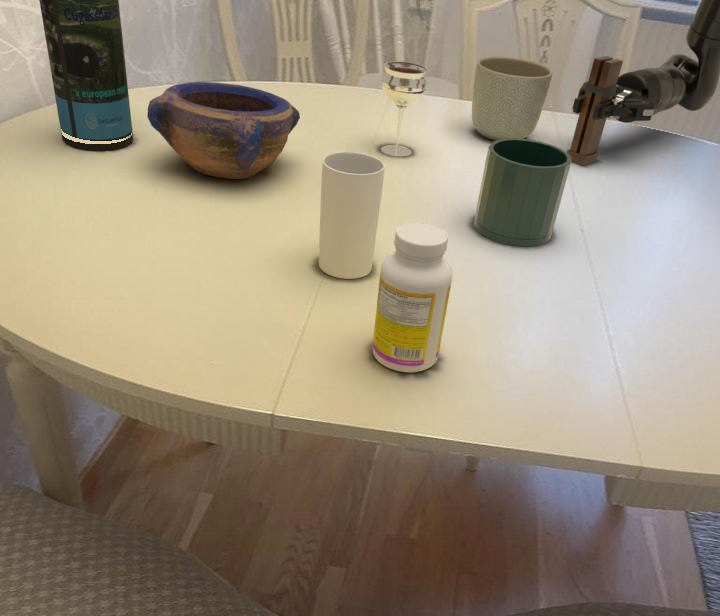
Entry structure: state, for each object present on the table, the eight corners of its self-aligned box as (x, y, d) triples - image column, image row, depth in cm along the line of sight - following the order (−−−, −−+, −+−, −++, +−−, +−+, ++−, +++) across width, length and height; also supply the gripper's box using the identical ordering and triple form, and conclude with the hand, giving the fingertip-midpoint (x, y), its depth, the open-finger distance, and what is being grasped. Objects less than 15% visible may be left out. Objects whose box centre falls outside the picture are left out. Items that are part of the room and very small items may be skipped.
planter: (520, 154, 124) (536, 82, 117) (453, 135, 128) (464, 64, 121) (546, 136, 132) (563, 68, 125) (483, 119, 137) (495, 52, 129)
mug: (360, 286, 85) (370, 179, 77) (306, 271, 87) (311, 165, 79) (392, 252, 92) (404, 152, 84) (342, 239, 94) (349, 139, 86)
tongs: (578, 154, 127) (605, 55, 117) (596, 161, 125) (625, 60, 115) (565, 159, 124) (591, 57, 114) (583, 165, 123) (612, 63, 113)
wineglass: (366, 147, 120) (373, 63, 112) (396, 140, 124) (406, 59, 116) (395, 161, 116) (405, 76, 108) (426, 154, 120) (438, 71, 112)
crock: (542, 216, 105) (561, 142, 99) (558, 249, 98) (580, 171, 91) (468, 210, 105) (483, 135, 98) (479, 243, 97) (496, 164, 90)
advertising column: (93, 121, 117) (60, -124, 97) (153, 138, 114) (131, -112, 94) (41, 140, 110) (-8, -123, 90) (103, 158, 106) (67, -109, 86)
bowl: (313, 164, 112) (317, 91, 106) (251, 203, 100) (250, 123, 93) (210, 137, 117) (208, 66, 110) (138, 171, 104) (130, 93, 98)
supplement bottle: (406, 332, 79) (424, 212, 70) (450, 362, 75) (475, 239, 67) (357, 350, 75) (369, 226, 67) (401, 383, 72) (420, 256, 63)
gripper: (612, 59, 128) (554, 71, 118) (687, 81, 121) (633, 95, 112) (598, 106, 133) (542, 121, 123) (670, 130, 126) (617, 148, 117)
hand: (586, 109), depth 118 cm, fingers closed on tongs, 3 cm apart
